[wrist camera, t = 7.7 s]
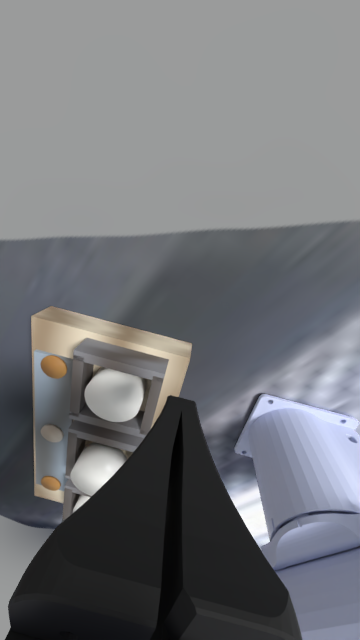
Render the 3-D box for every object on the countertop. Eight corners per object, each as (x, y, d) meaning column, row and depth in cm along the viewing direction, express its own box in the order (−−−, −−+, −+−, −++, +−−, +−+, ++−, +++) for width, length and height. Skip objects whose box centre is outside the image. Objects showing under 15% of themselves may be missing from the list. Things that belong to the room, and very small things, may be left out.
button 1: (151, 369, 18) (145, 385, 16) (141, 409, 20) (135, 428, 18) (98, 355, 18) (86, 369, 16) (93, 396, 20) (82, 413, 18)
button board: (191, 343, 20) (188, 373, 16) (144, 500, 29) (134, 544, 25) (51, 306, 20) (11, 326, 16) (47, 474, 29) (22, 515, 25)
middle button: (131, 449, 20) (123, 471, 18) (124, 479, 22) (116, 502, 20) (83, 436, 20) (71, 457, 18) (80, 468, 22) (69, 490, 20)
